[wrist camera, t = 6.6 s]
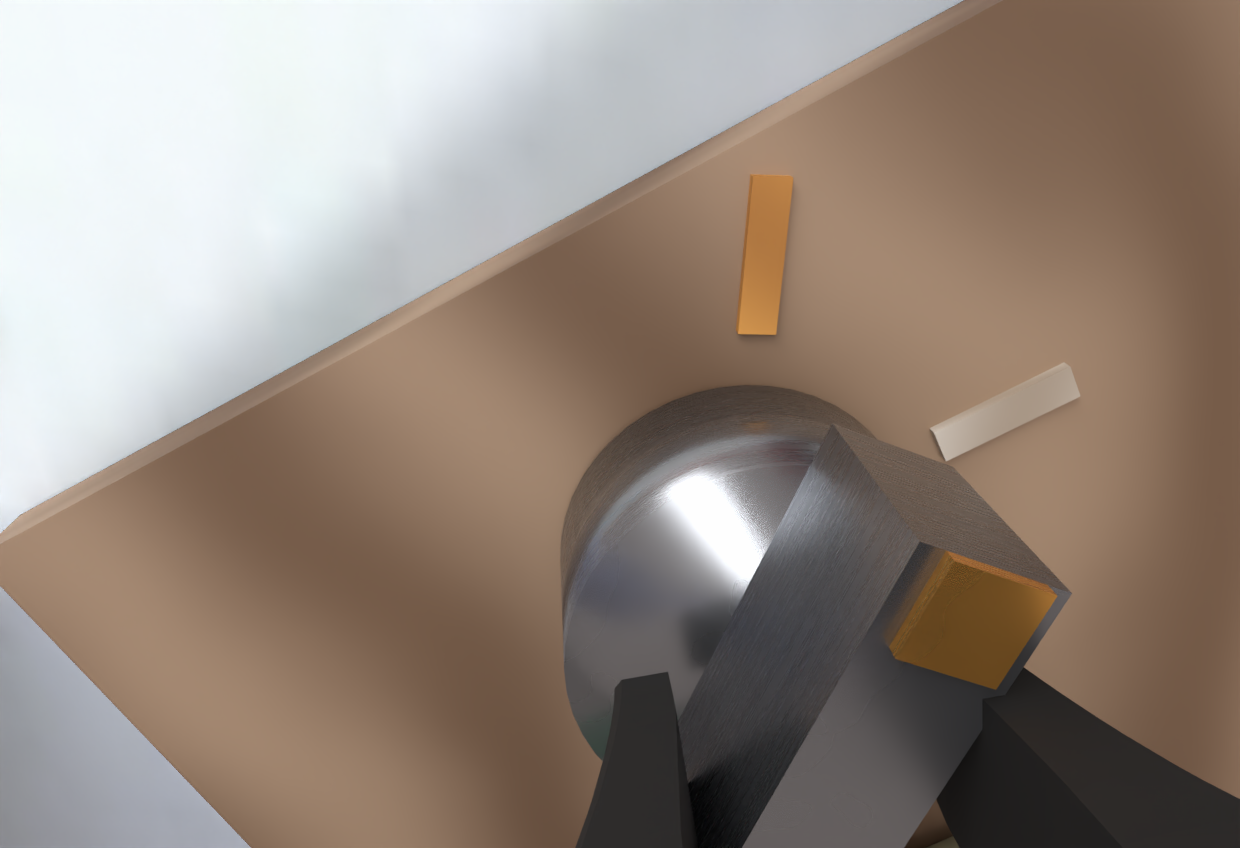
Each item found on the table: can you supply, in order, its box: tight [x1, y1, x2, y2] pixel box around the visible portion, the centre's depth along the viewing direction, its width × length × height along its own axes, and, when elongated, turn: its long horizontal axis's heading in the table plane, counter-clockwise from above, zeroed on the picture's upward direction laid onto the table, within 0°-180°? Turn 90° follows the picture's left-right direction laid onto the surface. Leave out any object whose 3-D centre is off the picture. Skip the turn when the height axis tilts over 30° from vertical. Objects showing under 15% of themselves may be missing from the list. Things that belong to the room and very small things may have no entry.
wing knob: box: [560, 385, 1072, 848], centre depth 13 cm, size 7×6×6 cm
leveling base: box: [0, 0, 1240, 848], centre depth 17 cm, size 22×18×4 cm
